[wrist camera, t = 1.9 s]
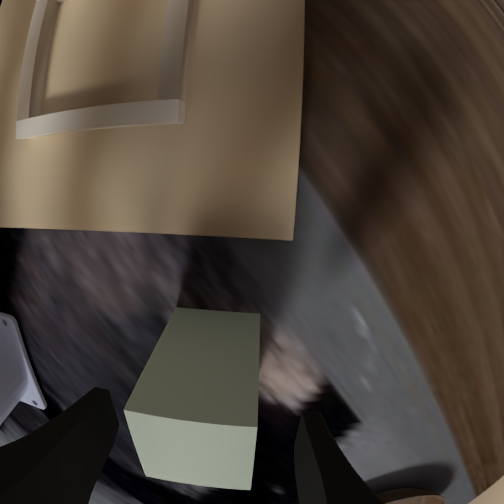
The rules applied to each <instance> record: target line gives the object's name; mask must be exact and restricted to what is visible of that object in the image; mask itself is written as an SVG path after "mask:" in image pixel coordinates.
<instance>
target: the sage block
mask: <svg viewBox="0 0 504 504" xmlns="http://www.w3.org/2000/svg"><path fill="white" fill-rule="evenodd" d="M259 350H260V314H259V313H243V312H228V311H214V310H202V309H190V308H179V307H176V309H175V311H174V312H173V314H172V316H171V318H170V320H169V322H168V324H167V326H166V327H165V329H164V331H163V333H162V335H161V337H160V339H159V341H158V343H157V345H156V347H155V349H154V350H153V352H152V354H151V356H150V358H149V360H148V362H147V364H146V366H145V368H144V370H143V372H142V374H141V376H140V378H139V380H138V382H137V384H136V386H135V388H134V390H133V392H132V394H131V396H130V398H129V400H128V402H127V404H126V406H125V408H124V413H125V416H126V420H127V423H128V426H129V429H130V432H131V436H132V439H133V442H134V445H135V448H136V450H137V453H138V456H139V459H140V462H141V464H142V467H143V470H144V472H145V475H146V476H148V477H153V478H158V479H163V480H168V481H174V482H180V483H186V484H193V485H200V486H208V487H218V488H228V489H242V490H251V482H252V473H253V464H254V454H255V444H256V434H257V419H258V386H259Z"/></svg>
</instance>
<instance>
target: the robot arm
mask: <svg viewBox="0 0 504 504" xmlns="http://www.w3.org/2000/svg"><path fill="white" fill-rule="evenodd" d="M19 401H23V402H25V403H27V404H30V405H33V406H35V407H38V408H40V409H45V408H46V407H47V403H46V401H45V399H44V396H43V394H42V392H41V389H40V387H39V384H38V382H37V379H36V377H35V374H34V372H33V369H32V366H31V364H30V361H29V358H28V355H27V352H26V349H25V346H24V343H23V340H22V337H21V333H20V330H19V327H18V323H17V321H16V319H15V318H14V317H13V316H12V315H9V314H5V313H1V312H0V425H1V423H2V422H3V421H4V420H5V418H6V417H7V416H8V414H9V413H10V412H11V411H12V409H13V408H14V407H15V406H16V404H17V403H18V402H19ZM118 428H119V422H118V419H117V416H116V412H115V409H114V406H113V403H112V399H111V396H110V392H109V390H106V389H102V388H98V387H95V388H93V389H92V390H91V391H89V392H88V393H87V394H85V395H84V396H83V397H82V398H80V399H79V400H78V401H76V402H75V403H74V404H73V405H71V406H70V407H69V408H67V409H66V410H65V411H63V412H62V413H61V414H59V415H58V416H57V417H55V418H54V419H52V420H51V421H49V422H48V423H46V424H45V425H43V426H41V427H40V428H38V429H37V430H35V431H33V432H32V433H30V434H28V435H26V436H24V437H22V438H20V439H18V440H16V441H14V442H11V443H9V444H6V445H4V446H1V447H0V504H88V503H89V499H90V496H91V493H92V490H93V488H94V485H95V483H96V481H97V479H98V477H99V475H100V472H101V470H102V468H103V466H104V464H105V462H106V460H107V458H108V455H109V453H110V451H111V449H112V447H113V444H114V441H115V438H116V435H117V431H118ZM294 459H295V475H296V482H297V489H298V496H299V504H385V503H384V502H383V501H382V500H381V499H380V498H379V497H378V496H377V495H376V494H375V493H374V492H373V491H372V490H371V489H370V488H369V487H368V486H367V484H366V483H365V482H364V481H363V480H362V479H361V477H360V476H359V475H358V474H357V472H356V471H355V470H354V468H353V467H352V466H351V464H350V463H349V461H348V460H347V458H346V457H345V455H344V454H343V452H342V451H341V449H340V448H339V446H338V444H337V443H336V441H335V439H334V438H333V436H332V434H331V432H330V431H329V429H328V427H327V425H326V423H325V421H324V419H323V417H322V414H321V413H320V412H302V414H301V419H300V423H299V428H298V432H297V436H296V440H295V444H294Z"/></svg>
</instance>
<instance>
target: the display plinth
mask: <svg viewBox="0 0 504 504" xmlns="http://www.w3.org/2000/svg"><path fill="white" fill-rule="evenodd" d="M304 19H305V0H2V3H1V7H0V227H7V228H39V229H67V230H93V231H117V232H140V233H161V234H182V235H202V236H221V237H239V238H256V239H274V240H290V241H293V232H294V220H295V208H296V194H297V180H298V166H299V150H300V132H301V113H302V90H303V63H304Z"/></svg>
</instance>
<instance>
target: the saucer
mask: <svg viewBox="0 0 504 504" xmlns="http://www.w3.org/2000/svg"><path fill="white" fill-rule="evenodd" d="M375 494H376V495H377V496H378V497H379V498H380V499H381V500H382V501H383V502H384V503H385V504H446V499H445V498H444V497H442V496H440V495H439V494H436V493H434V492H431V491H427V490H423V489H416V488H400V489H393V490H388V491H383V492H379V493H375Z"/></svg>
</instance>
